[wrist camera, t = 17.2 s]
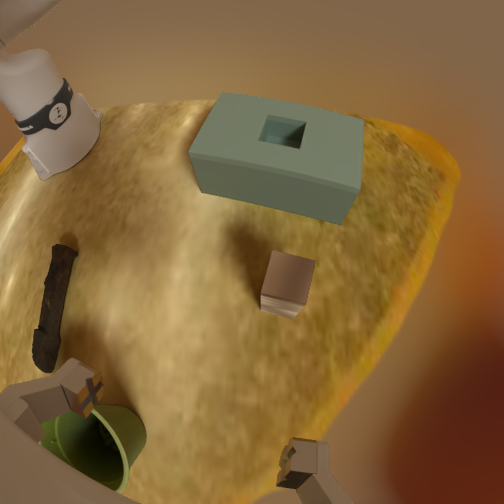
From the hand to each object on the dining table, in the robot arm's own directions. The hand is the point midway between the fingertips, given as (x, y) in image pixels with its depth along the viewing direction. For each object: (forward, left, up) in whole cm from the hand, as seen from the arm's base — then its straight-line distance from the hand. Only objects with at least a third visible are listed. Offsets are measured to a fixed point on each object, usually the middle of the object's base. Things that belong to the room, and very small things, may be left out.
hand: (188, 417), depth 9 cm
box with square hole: (-9, +27, -23) cm, 36 cm away
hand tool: (-26, -8, -23) cm, 35 cm away
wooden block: (0, +11, -23) cm, 25 cm away
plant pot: (-8, -15, -23) cm, 29 cm away
